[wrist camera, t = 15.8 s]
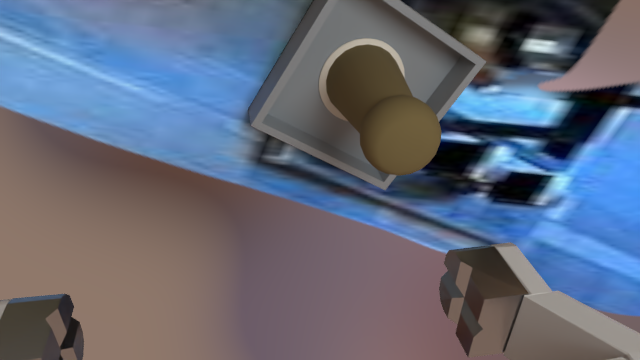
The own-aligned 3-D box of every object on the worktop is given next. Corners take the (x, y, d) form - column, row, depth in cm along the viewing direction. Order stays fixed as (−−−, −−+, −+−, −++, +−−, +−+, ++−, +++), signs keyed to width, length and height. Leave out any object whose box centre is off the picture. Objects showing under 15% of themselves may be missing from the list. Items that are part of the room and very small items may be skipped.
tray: (248, 109, 40) (250, 125, 38) (339, -43, 35) (349, -35, 33) (375, 171, 46) (385, 190, 43) (469, 48, 41) (486, 61, 38)
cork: (310, 88, 39) (341, 159, 30) (362, 28, 37) (412, 84, 28) (363, 129, 42) (406, 205, 33) (414, 75, 40) (474, 139, 31)
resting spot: (317, 123, 41) (318, 124, 41) (319, 39, 37) (320, 40, 37) (398, 118, 42) (399, 119, 42) (408, 36, 39) (409, 37, 38)
